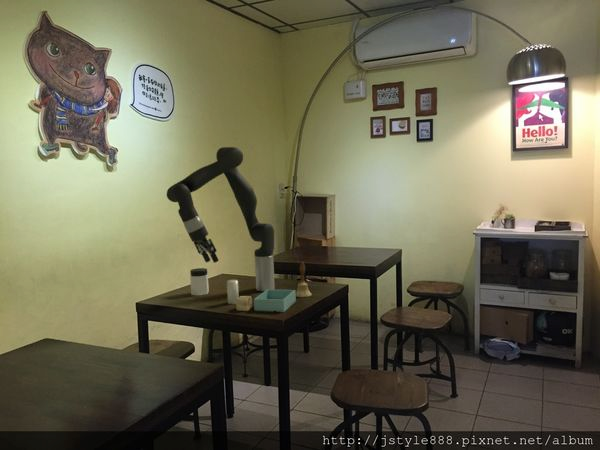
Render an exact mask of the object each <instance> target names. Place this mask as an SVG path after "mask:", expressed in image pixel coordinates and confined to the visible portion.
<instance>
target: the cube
mask: <svg viewBox="0 0 600 450" xmlns="http://www.w3.org/2000/svg"><path fill="white" fill-rule="evenodd" d="M235 305H236V306H235V307H236V311H243V312H245V311H246V312H248V311H249V310H251V309H252V308H253V302H252V296H251V295H250V296H248V295H239V298H237V299H236V304H235Z"/></svg>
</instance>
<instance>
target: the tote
mask: <svg viewBox="0 0 600 450" xmlns="http://www.w3.org/2000/svg"><path fill="white" fill-rule="evenodd" d="M295 293H296V289H274V290H270V289H267V290H266V291H262V293H260V294H259V295H257V296H256V297H255V298H254V299H253V309H254V311H255V312H274V311H276V312H278V313H284V312H286V311H287V310H288V309H289V308H290V307H291V306H292V305H293V304H294V303H296V301H297V298H296V295H295Z"/></svg>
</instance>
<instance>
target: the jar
mask: <svg viewBox="0 0 600 450" xmlns="http://www.w3.org/2000/svg"><path fill="white" fill-rule="evenodd" d="M189 273H190V279H189V280H190V294H191V296H199V295H200V296H204V295H208V293H210V290H209V274H208V268H205V267H200V268H199V267H198V268H192V269H190V272H189Z"/></svg>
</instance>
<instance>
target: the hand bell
mask: <svg viewBox="0 0 600 450" xmlns="http://www.w3.org/2000/svg"><path fill="white" fill-rule="evenodd" d="M305 272H306V265H305V262H304V261H301V262H300V264H299V273H300V282H299V283H298V284H297V290H296V291H295V295H296V297H297V298H307V297H311V296H312V294H313V293H312V292H310V290H309V287H308V283H306V282H305Z"/></svg>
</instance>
